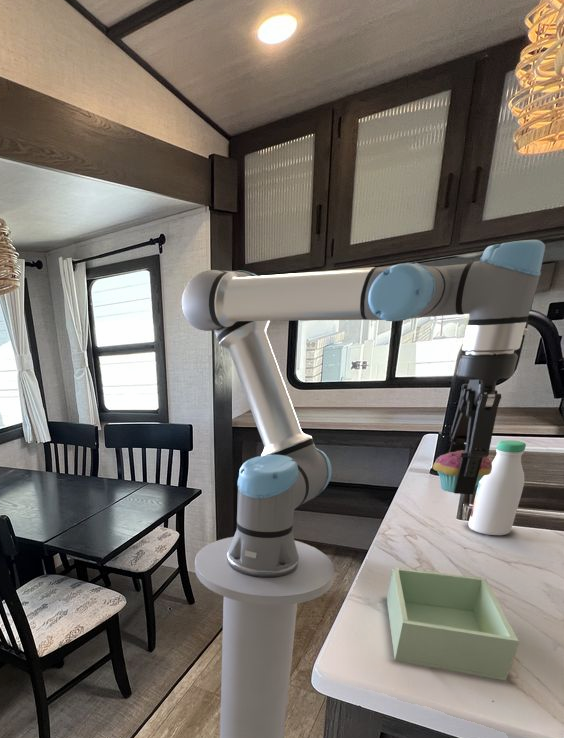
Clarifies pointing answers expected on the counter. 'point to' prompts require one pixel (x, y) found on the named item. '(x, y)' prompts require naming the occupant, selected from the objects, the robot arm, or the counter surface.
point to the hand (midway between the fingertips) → (457, 485)
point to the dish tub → (449, 623)
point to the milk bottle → (499, 491)
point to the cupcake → (456, 469)
